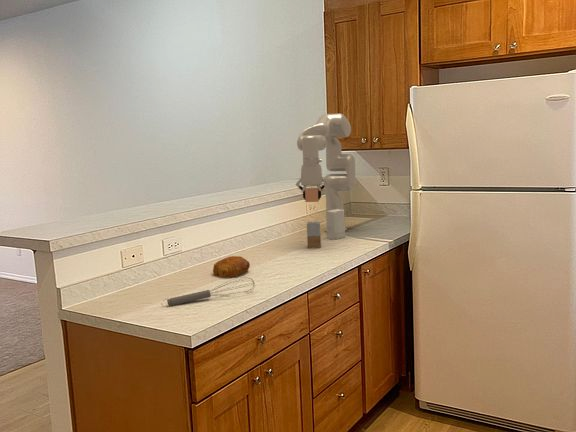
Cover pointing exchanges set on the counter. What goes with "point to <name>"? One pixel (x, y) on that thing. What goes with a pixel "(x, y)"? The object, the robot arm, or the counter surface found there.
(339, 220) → the skincare box
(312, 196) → the terracotta block
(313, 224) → the slate block
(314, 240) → the walnut block
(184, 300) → the kitchen whisk
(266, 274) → the counter surface
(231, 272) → the brown bread loaf
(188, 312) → the counter surface
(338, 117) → the robot arm
